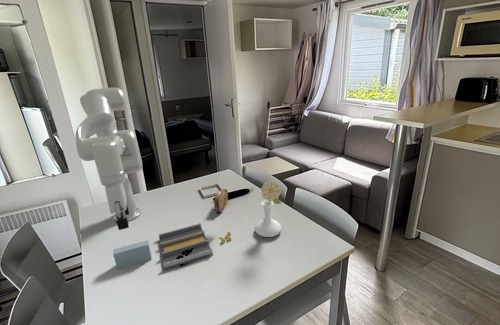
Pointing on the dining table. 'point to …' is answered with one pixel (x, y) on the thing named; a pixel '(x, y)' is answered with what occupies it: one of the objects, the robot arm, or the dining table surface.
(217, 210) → the tin
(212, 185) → the beige square frame
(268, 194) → the flower in vase
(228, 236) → the dice set
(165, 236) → the rack
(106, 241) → the dining table surface
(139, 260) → the blue-grey rectangular block
